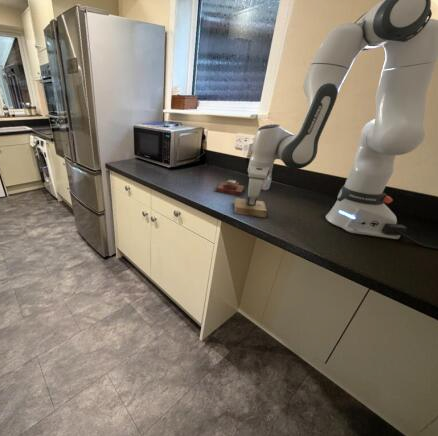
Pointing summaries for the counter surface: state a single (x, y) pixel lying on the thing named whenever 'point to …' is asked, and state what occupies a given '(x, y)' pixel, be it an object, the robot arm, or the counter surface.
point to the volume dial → (249, 201)
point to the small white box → (267, 182)
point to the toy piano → (230, 188)
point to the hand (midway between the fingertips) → (252, 200)
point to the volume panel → (250, 208)
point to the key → (231, 182)
